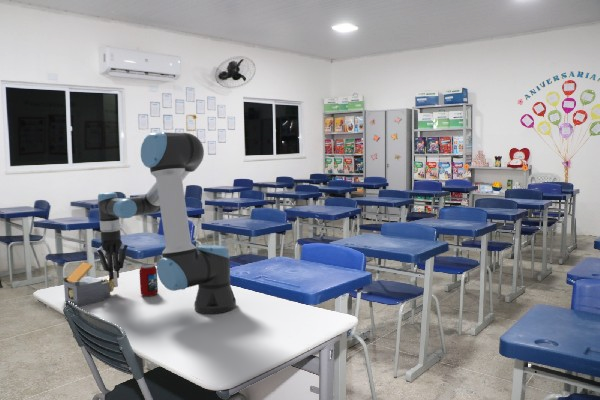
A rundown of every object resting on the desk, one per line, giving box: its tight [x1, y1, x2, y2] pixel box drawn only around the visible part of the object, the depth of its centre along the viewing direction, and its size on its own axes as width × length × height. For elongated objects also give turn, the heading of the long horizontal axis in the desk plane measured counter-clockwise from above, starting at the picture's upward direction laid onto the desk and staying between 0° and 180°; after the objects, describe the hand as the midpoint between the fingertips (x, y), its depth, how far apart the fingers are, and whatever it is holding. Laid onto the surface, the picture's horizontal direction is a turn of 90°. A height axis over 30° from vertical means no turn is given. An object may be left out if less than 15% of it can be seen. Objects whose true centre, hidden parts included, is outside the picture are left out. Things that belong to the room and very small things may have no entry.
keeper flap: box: [66, 261, 94, 283], centre depth 190 cm, size 8×9×1 cm
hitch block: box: [62, 275, 111, 307], centre depth 193 cm, size 12×14×10 cm
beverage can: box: [138, 263, 159, 297], centre depth 198 cm, size 7×7×12 cm
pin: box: [69, 277, 115, 298], centre depth 194 cm, size 16×6×6 cm, turn 137°
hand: (114, 286), depth 201 cm, fingers closed
